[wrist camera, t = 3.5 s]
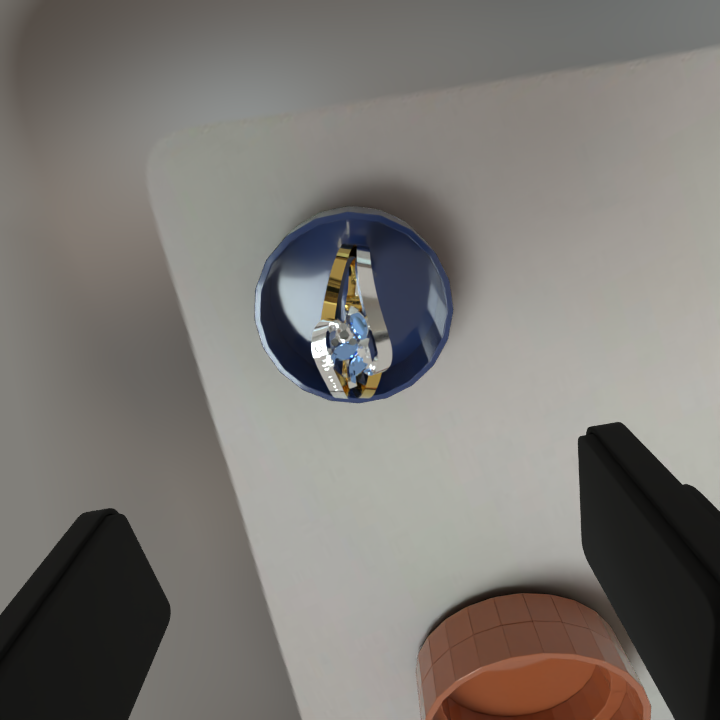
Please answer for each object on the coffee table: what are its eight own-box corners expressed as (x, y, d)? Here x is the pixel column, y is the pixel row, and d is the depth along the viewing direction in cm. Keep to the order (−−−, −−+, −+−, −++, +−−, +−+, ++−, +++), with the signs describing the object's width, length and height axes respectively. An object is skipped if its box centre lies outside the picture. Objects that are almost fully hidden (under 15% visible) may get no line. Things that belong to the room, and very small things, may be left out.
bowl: (431, 730, 40) (440, 804, 35) (400, 603, 34) (406, 672, 30) (614, 706, 39) (648, 780, 34) (613, 571, 33) (654, 637, 29)
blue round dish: (292, 391, 28) (284, 417, 25) (243, 228, 24) (228, 237, 21) (453, 361, 27) (463, 384, 24) (428, 187, 23) (437, 192, 21)
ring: (329, 228, 24) (316, 260, 17) (393, 236, 24) (407, 270, 17) (318, 356, 27) (303, 432, 19) (376, 362, 27) (382, 439, 19)
